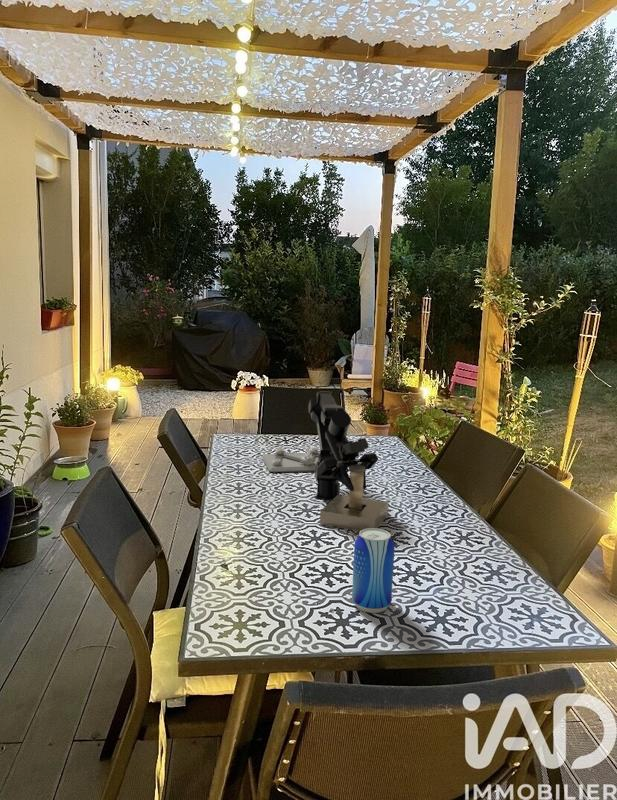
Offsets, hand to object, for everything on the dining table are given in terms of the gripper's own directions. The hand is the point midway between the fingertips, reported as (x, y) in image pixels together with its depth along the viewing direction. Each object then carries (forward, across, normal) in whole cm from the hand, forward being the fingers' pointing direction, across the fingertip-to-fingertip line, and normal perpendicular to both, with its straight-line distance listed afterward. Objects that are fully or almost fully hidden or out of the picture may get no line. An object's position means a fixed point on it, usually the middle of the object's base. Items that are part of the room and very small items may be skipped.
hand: (358, 489), depth 182 cm
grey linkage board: (-34, +17, +49) cm, 62 cm away
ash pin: (+4, 0, +6) cm, 7 cm away
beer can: (+37, -27, -23) cm, 51 cm away
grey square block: (+6, 0, +8) cm, 10 cm away
